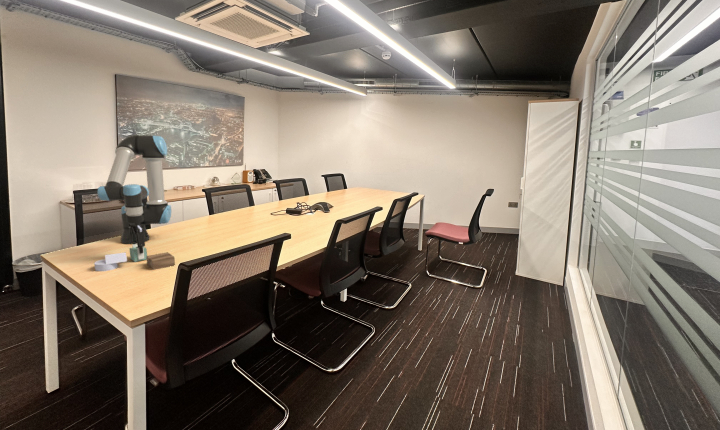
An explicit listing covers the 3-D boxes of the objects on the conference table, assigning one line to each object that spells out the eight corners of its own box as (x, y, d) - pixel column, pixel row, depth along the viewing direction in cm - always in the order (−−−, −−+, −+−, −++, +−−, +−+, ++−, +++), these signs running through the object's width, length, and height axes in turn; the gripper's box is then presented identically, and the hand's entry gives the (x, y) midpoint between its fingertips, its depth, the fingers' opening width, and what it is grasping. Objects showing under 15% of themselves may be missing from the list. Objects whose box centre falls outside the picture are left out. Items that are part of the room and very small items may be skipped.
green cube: (130, 259, 187) (129, 248, 186) (143, 256, 191) (142, 245, 190) (134, 261, 183) (133, 250, 182) (147, 259, 188) (146, 248, 186)
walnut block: (147, 265, 180) (146, 256, 179) (168, 261, 187) (167, 252, 186) (153, 270, 173) (152, 260, 172) (175, 266, 181) (174, 256, 180)
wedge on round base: (126, 262, 183) (95, 267, 175) (125, 250, 181) (93, 254, 174) (127, 267, 176) (95, 272, 168) (126, 254, 174) (93, 259, 167)
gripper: (119, 212, 185) (124, 254, 190) (133, 218, 174) (137, 263, 178) (135, 210, 191) (139, 251, 196) (149, 216, 179) (153, 259, 184)
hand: (138, 257), depth 187 cm, fingers closed on green cube, 6 cm apart
